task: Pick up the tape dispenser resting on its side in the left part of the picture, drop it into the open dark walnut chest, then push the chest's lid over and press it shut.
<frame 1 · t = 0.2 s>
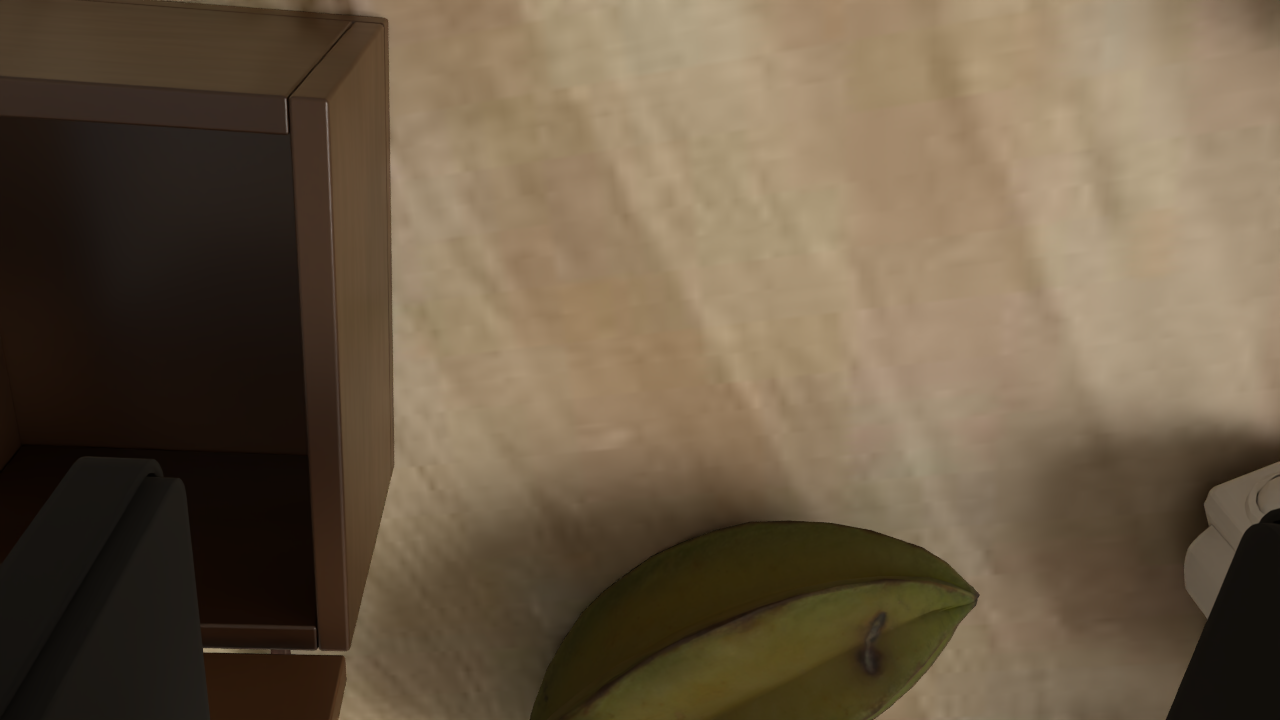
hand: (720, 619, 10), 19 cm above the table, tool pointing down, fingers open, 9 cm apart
chest: (184, 251, 28), on the table
fruit: (707, 616, 35), on the table
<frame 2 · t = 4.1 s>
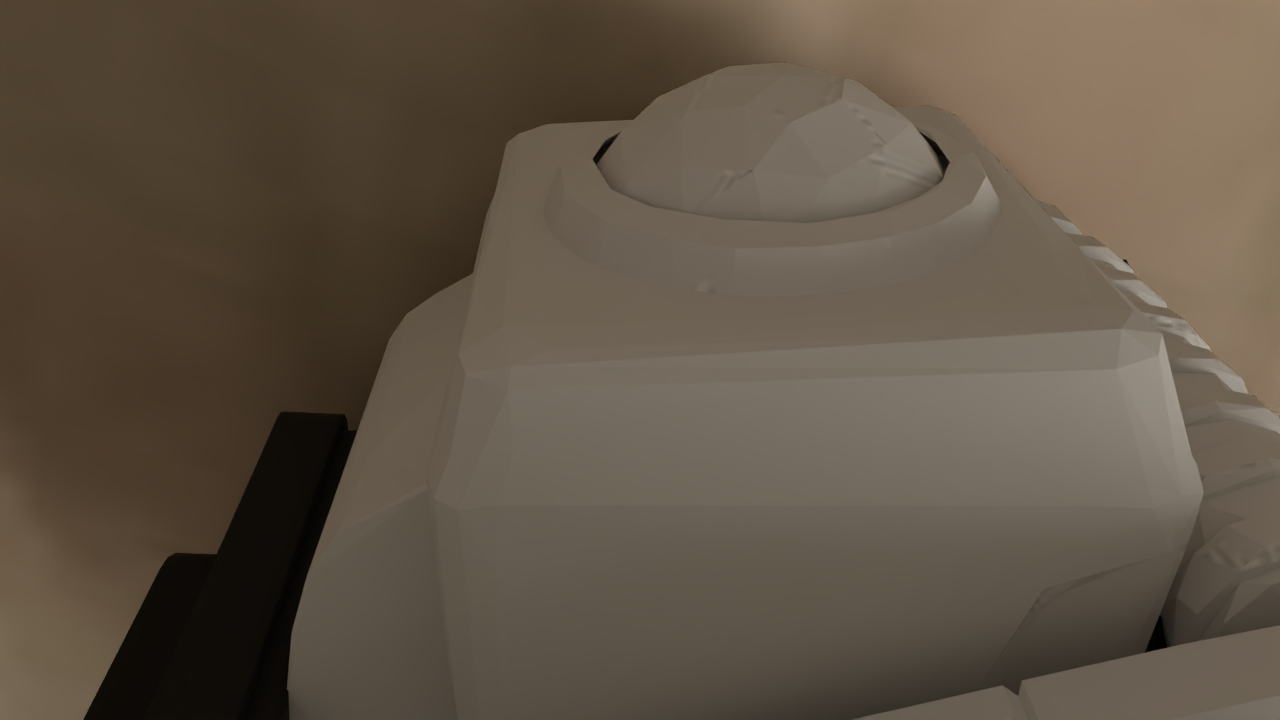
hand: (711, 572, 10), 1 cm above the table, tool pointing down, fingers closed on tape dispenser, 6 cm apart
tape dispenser: (798, 35, 6), point 3 cm above the table, touching gripper
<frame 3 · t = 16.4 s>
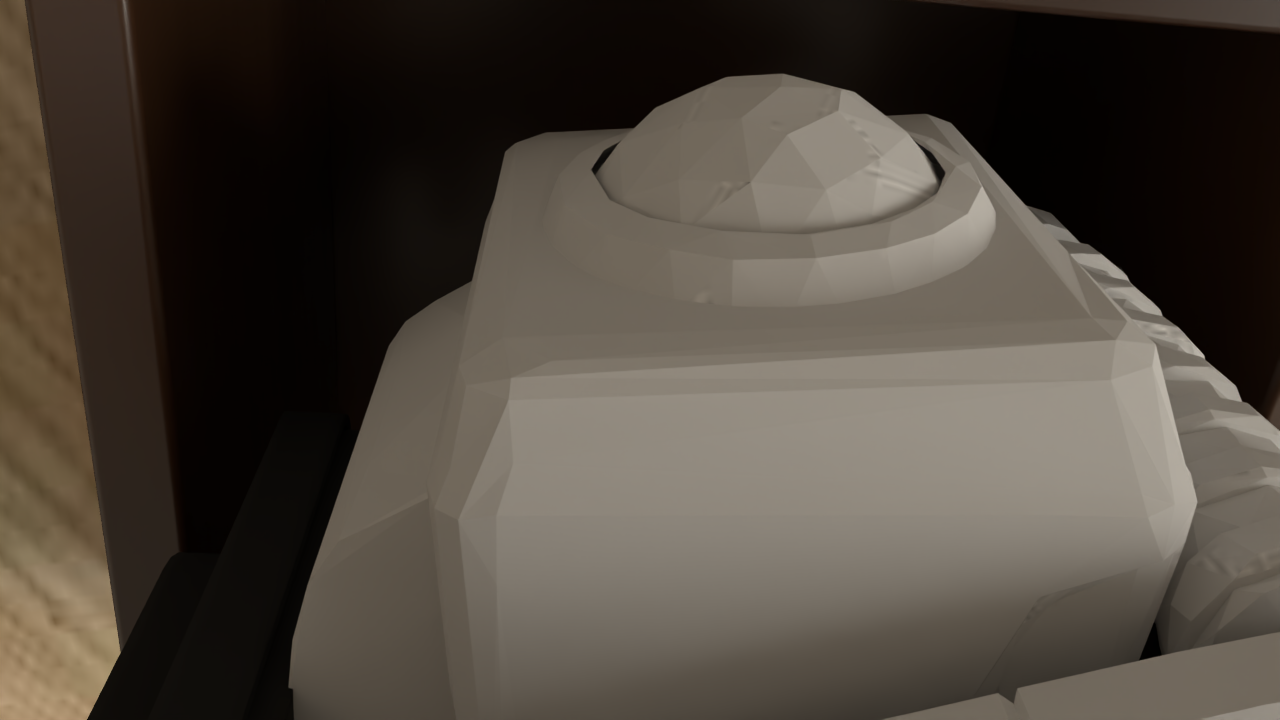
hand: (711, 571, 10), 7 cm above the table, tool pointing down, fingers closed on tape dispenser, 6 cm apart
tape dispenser: (795, 47, 6), point 9 cm above the table, touching gripper
chest: (644, 288, 17), on the table
when the fingers open (8 cm above the table, at t = 22.9 s): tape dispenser drops 6 cm, resting on chest.
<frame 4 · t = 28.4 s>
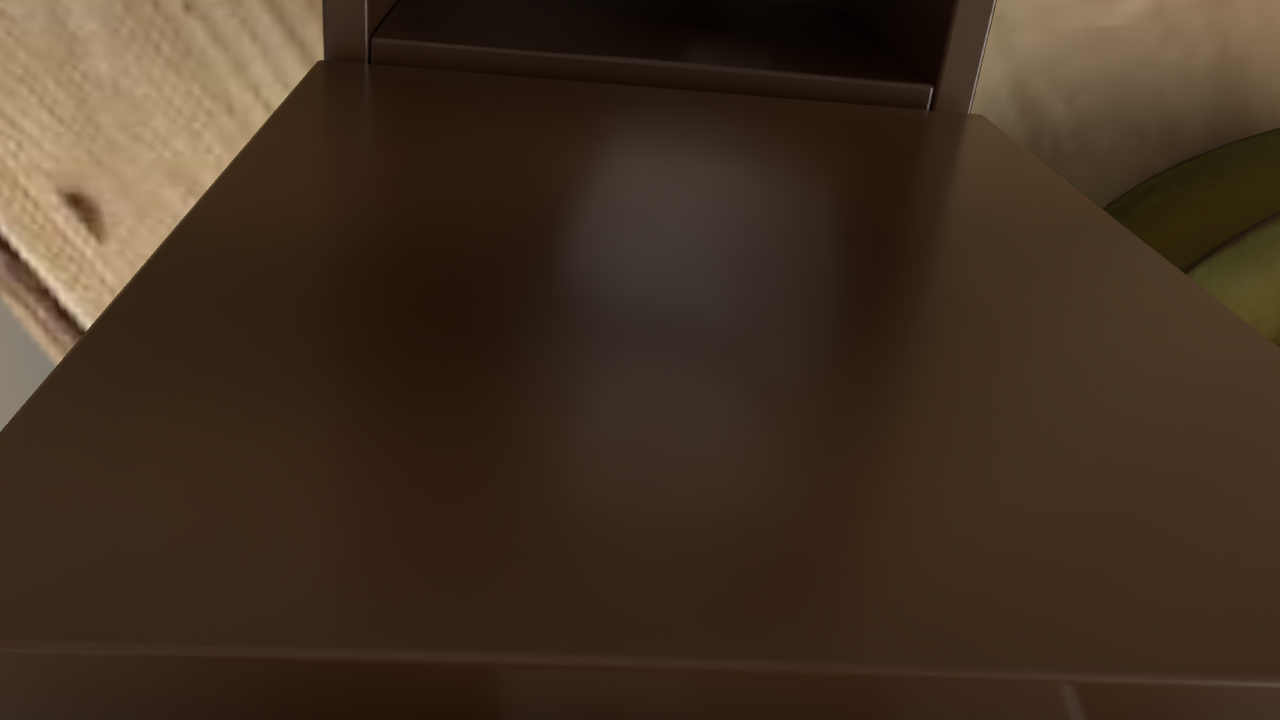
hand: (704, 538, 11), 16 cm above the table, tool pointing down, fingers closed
fruit: (1179, 278, 29), on the table
lid: (706, 271, 12), point 14 cm above the table, hinge at 90.3°, touching gripper
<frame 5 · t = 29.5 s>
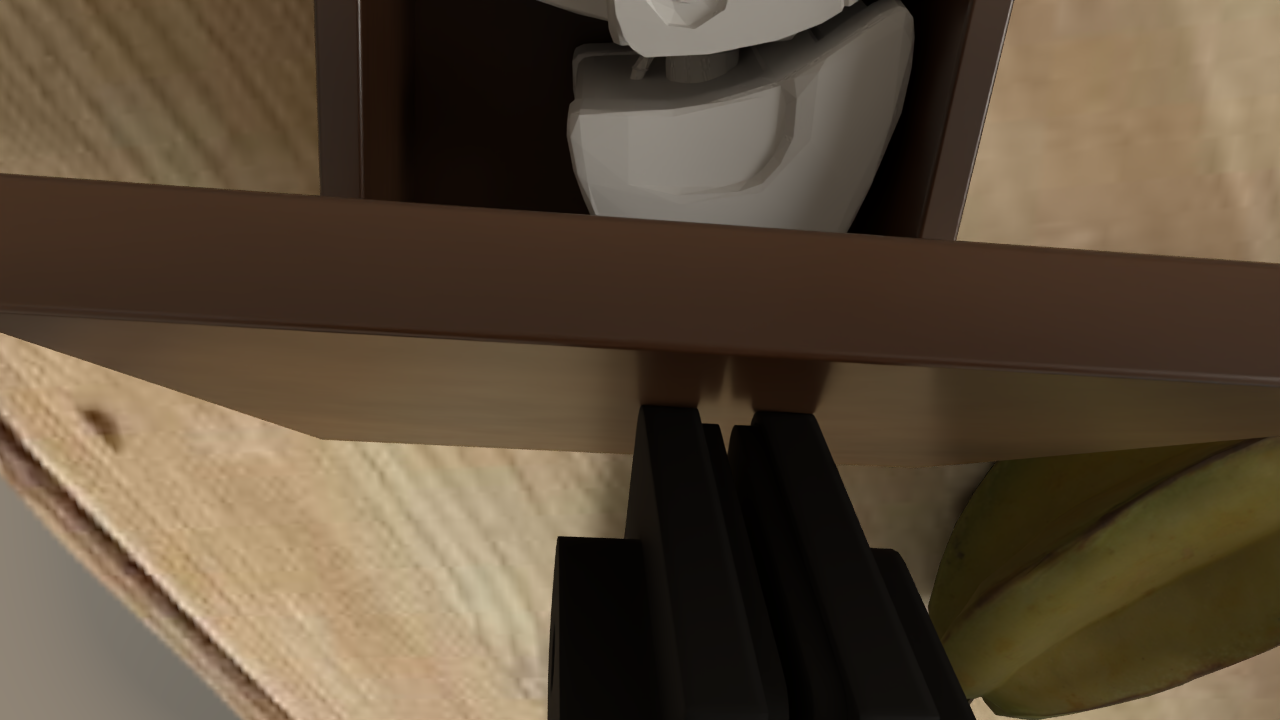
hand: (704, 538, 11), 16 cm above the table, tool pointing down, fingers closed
fruit: (1129, 468, 31), on the table
lid: (683, 396, 13), point 13 cm above the table, hinge at 55.4°
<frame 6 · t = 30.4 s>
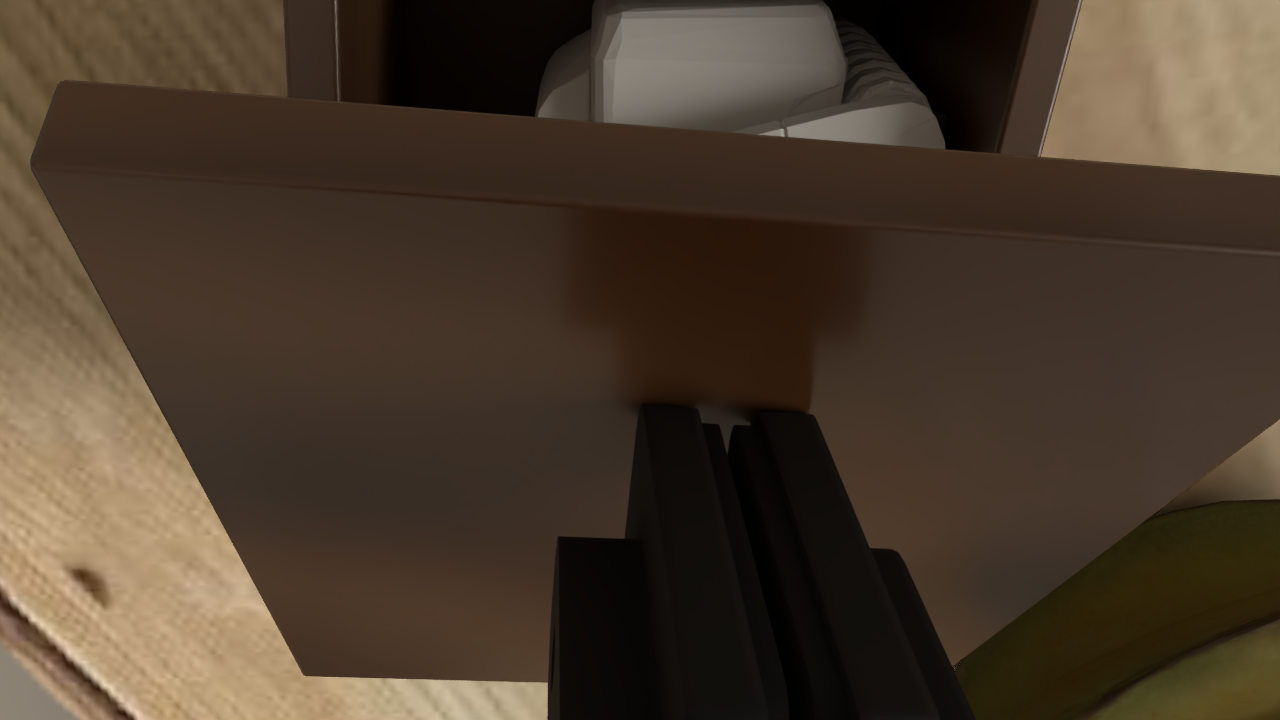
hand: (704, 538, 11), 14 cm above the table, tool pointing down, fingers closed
chest: (627, 163, 23), on the table
fruit: (1131, 611, 30), on the table
lid: (673, 517, 13), point 12 cm above the table, hinge at 32.1°
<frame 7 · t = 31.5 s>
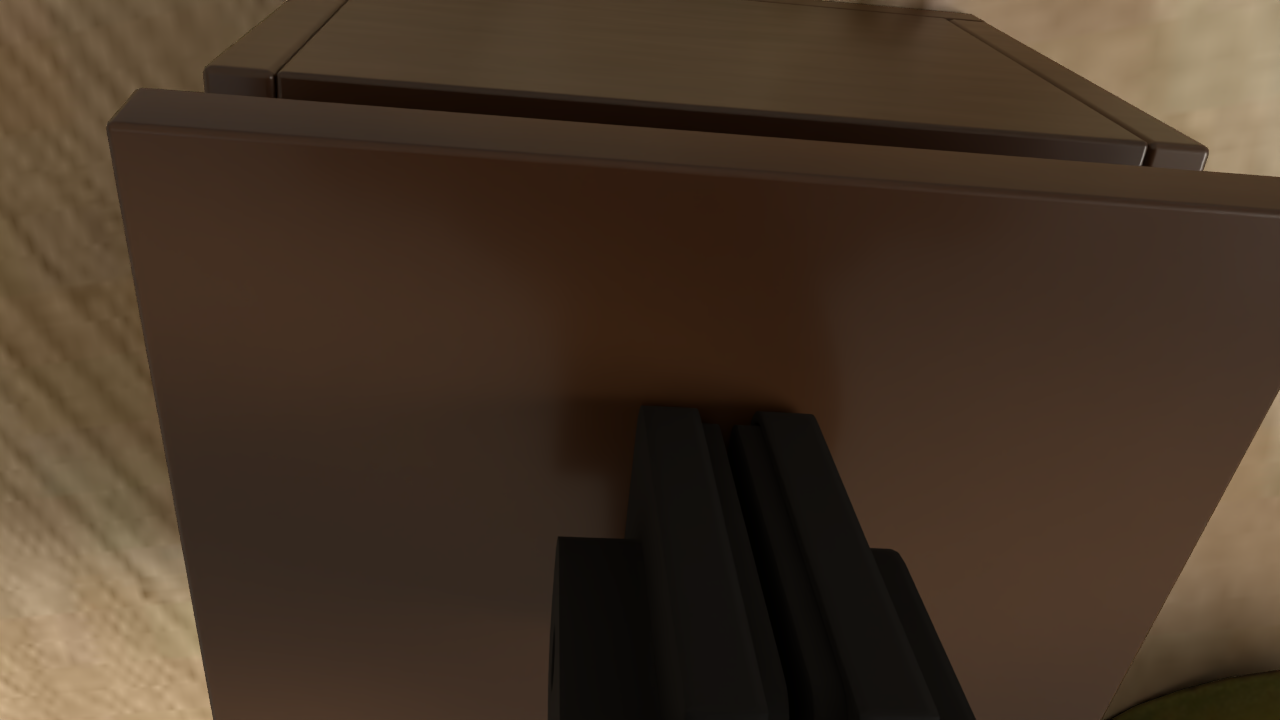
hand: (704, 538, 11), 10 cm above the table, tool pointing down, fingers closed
chest: (630, 327, 21), on the table
lid: (675, 658, 13), point 9 cm above the table, hinge at 7.6°
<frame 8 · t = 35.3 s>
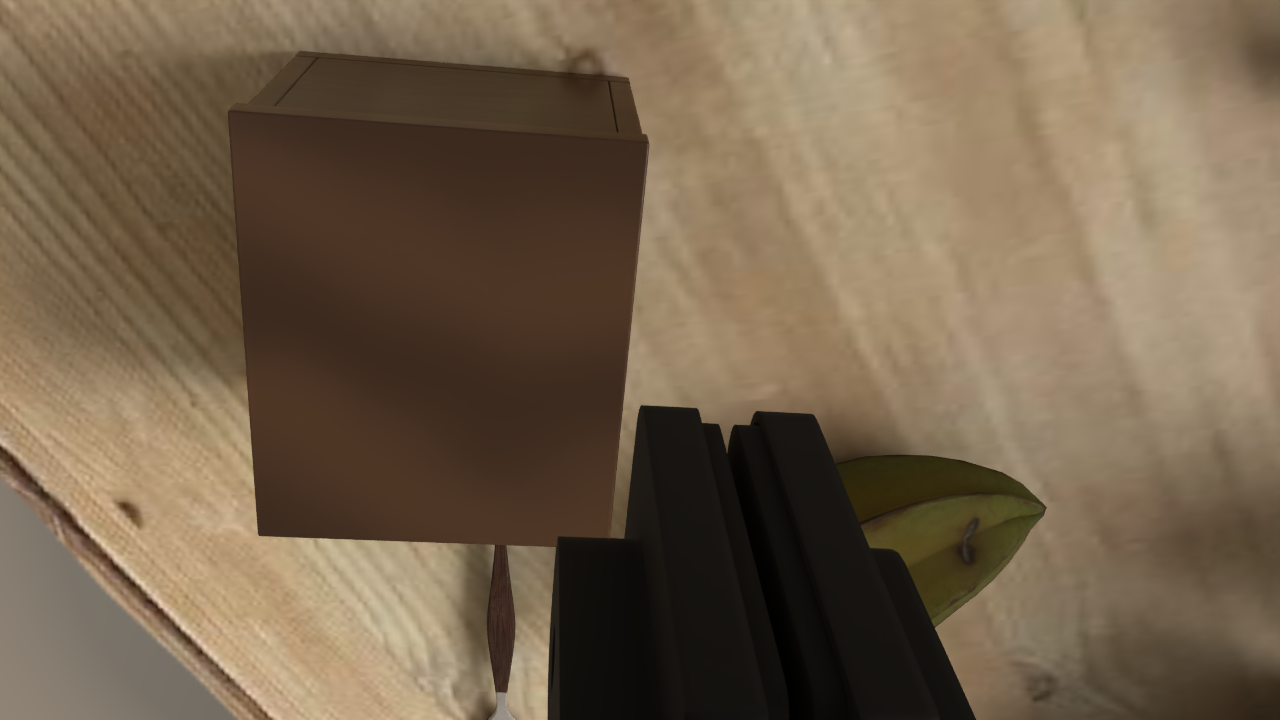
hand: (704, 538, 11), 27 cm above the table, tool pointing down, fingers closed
chest: (462, 246, 38), on the table
fruit: (826, 533, 45), on the table
fork: (502, 658, 46), on the table
lid: (440, 348, 31), point 8 cm above the table, hinge at -0.2°, touching chest
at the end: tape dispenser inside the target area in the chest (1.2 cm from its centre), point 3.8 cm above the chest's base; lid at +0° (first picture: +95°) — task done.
